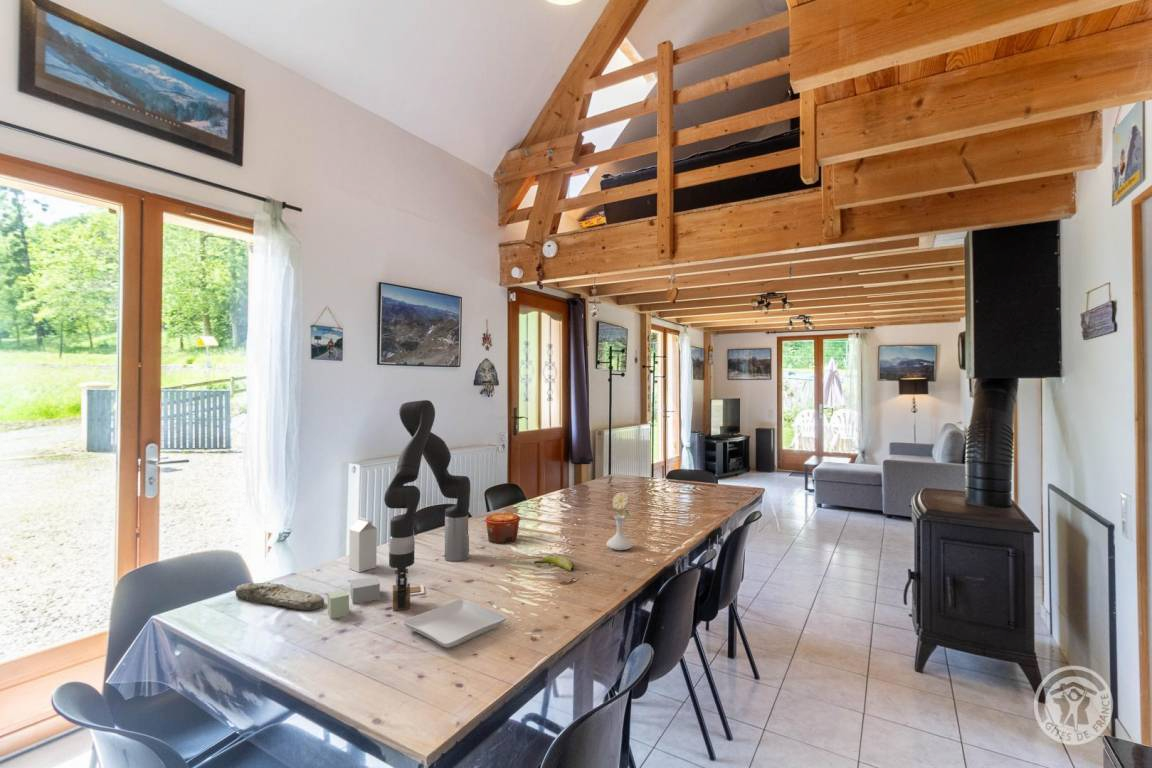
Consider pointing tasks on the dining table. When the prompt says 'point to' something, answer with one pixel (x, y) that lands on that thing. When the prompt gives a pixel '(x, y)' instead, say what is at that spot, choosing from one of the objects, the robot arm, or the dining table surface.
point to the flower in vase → (620, 524)
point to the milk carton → (362, 545)
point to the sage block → (338, 604)
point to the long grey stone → (279, 596)
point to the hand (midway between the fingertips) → (401, 603)
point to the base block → (365, 589)
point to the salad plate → (455, 622)
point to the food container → (502, 527)
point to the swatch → (417, 590)
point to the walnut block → (395, 598)
